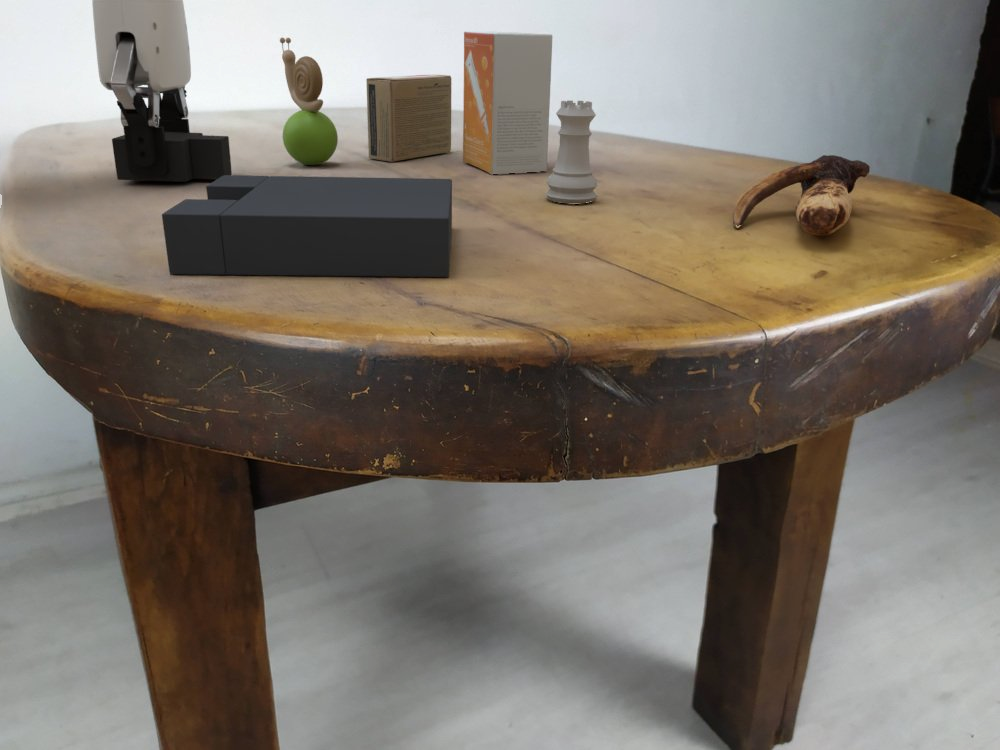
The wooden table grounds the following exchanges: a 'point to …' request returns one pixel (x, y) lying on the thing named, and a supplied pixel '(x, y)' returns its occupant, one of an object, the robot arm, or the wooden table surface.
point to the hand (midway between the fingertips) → (162, 166)
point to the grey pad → (313, 227)
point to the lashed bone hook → (811, 192)
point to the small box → (506, 101)
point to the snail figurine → (307, 112)
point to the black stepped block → (182, 158)
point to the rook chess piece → (573, 156)
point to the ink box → (408, 116)
